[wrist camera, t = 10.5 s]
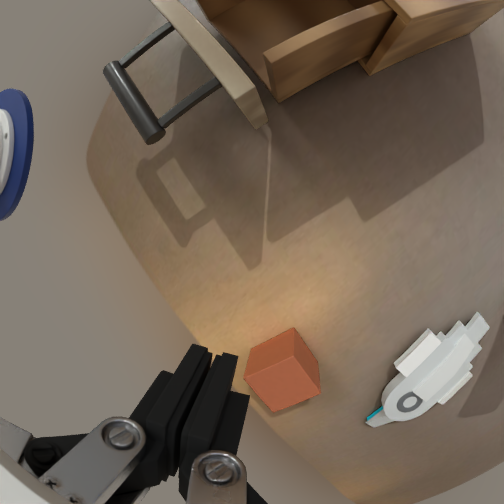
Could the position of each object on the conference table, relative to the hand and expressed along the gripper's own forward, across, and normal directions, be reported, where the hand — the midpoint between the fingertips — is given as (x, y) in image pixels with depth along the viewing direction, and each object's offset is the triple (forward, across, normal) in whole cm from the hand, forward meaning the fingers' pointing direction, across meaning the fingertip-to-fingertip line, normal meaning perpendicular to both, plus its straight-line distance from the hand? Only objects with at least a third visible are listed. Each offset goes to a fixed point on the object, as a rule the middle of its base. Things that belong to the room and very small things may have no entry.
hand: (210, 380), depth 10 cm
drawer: (+13, +3, -17) cm, 22 cm away
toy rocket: (+14, -19, +7) cm, 24 cm away
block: (+14, -4, +7) cm, 16 cm away
